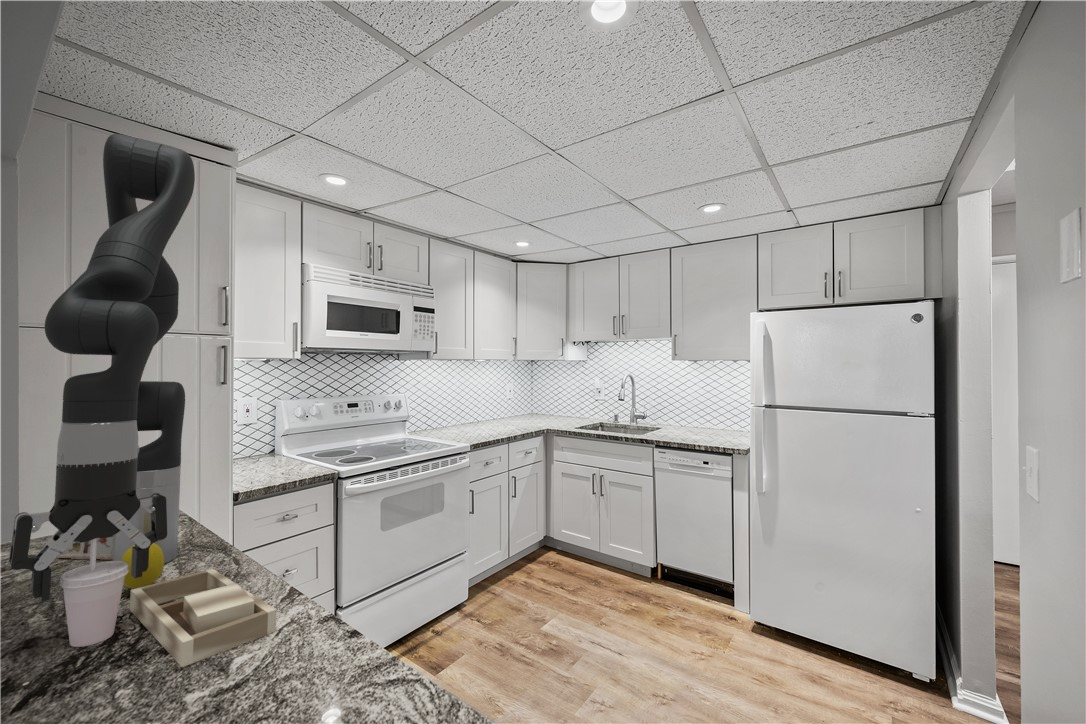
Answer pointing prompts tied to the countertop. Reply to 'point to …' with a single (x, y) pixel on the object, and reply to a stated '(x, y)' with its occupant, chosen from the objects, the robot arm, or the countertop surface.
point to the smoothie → (93, 599)
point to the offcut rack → (166, 616)
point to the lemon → (152, 572)
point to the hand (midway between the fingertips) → (92, 587)
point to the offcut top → (217, 607)
